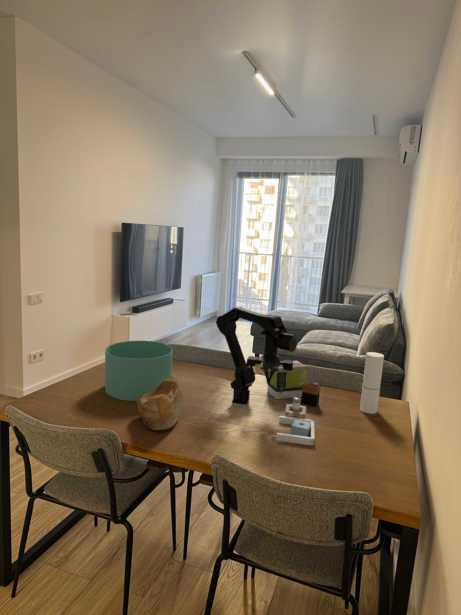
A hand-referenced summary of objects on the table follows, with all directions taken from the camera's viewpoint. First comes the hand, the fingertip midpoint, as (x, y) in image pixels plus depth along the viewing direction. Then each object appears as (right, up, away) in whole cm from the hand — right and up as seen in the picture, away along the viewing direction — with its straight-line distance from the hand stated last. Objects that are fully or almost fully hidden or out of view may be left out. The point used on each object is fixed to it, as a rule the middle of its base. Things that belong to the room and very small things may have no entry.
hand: (268, 383), depth 174 cm
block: (+10, -16, -18) cm, 26 cm away
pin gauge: (+10, -13, -4) cm, 17 cm away
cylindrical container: (+44, -13, +9) cm, 47 cm away
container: (-57, -6, +19) cm, 61 cm away
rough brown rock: (-44, -12, -12) cm, 47 cm away
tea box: (+10, -9, +21) cm, 25 cm away
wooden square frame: (+10, -13, -4) cm, 17 cm away
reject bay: (+9, -16, -16) cm, 24 cm away
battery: (+19, -11, +12) cm, 25 cm away
